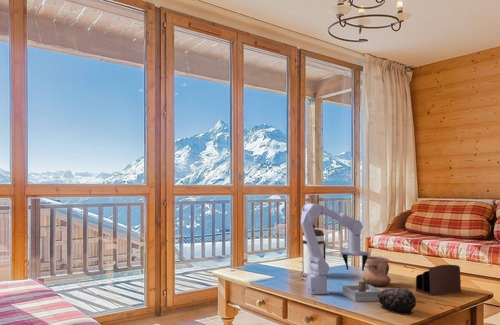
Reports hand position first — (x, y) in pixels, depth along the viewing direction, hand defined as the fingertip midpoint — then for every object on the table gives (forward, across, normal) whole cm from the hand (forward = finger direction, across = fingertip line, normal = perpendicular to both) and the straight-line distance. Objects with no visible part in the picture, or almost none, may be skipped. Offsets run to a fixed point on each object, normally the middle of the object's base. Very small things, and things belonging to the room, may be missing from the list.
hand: (355, 270), depth 214 cm
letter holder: (+10, +41, +6) cm, 42 cm away
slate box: (+10, +3, -14) cm, 17 cm away
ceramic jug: (+10, +12, +15) cm, 22 cm away
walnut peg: (+10, +3, -14) cm, 18 cm away
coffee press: (+10, -23, +29) cm, 38 cm away
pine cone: (+10, +16, -33) cm, 38 cm away
